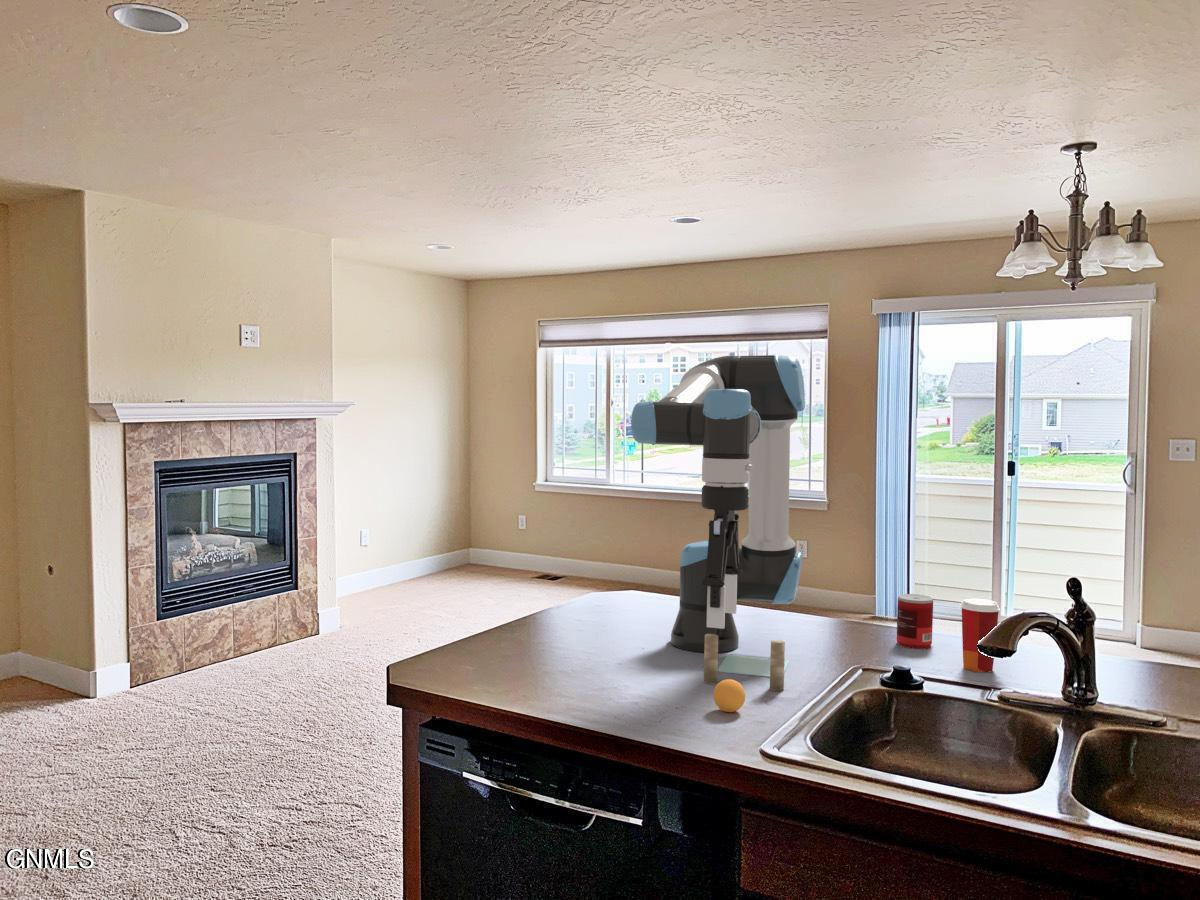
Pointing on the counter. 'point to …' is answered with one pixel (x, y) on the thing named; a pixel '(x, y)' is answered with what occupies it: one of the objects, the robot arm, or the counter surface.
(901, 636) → the canned food
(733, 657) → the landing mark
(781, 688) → the right post
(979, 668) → the paper cup
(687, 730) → the counter surface
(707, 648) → the left post
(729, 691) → the ball
